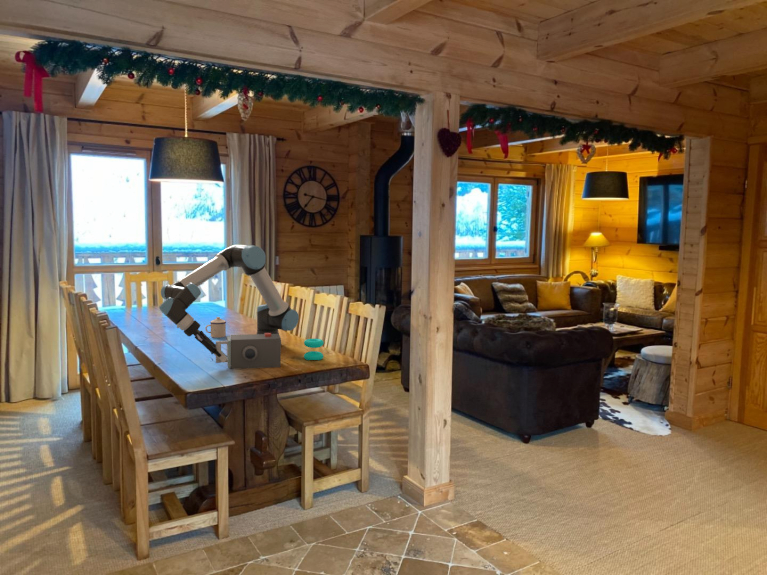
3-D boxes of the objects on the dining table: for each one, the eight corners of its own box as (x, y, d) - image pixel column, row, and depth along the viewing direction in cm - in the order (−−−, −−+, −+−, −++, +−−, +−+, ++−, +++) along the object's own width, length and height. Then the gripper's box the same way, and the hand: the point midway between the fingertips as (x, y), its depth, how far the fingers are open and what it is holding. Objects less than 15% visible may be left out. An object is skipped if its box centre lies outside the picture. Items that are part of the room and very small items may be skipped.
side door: (215, 362, 298) (215, 336, 297) (229, 361, 300) (229, 335, 299) (215, 368, 286) (215, 341, 285) (231, 367, 288) (231, 340, 287)
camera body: (230, 363, 300) (230, 332, 298) (277, 361, 306) (278, 331, 304) (231, 370, 286) (231, 338, 285) (281, 368, 292) (281, 336, 291)
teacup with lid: (224, 334, 370) (224, 315, 368) (227, 337, 362) (227, 317, 361) (203, 335, 364) (203, 316, 363) (207, 338, 356) (207, 318, 355)
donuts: (308, 337, 318) (326, 338, 315) (308, 356, 319) (326, 357, 316) (300, 340, 308) (319, 342, 306) (300, 360, 309) (319, 362, 307)
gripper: (183, 327, 290) (219, 361, 297) (181, 334, 275) (219, 369, 281) (195, 316, 291) (230, 350, 298) (194, 322, 275) (231, 357, 282)
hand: (225, 359), depth 289 cm, fingers open, 3 cm apart
